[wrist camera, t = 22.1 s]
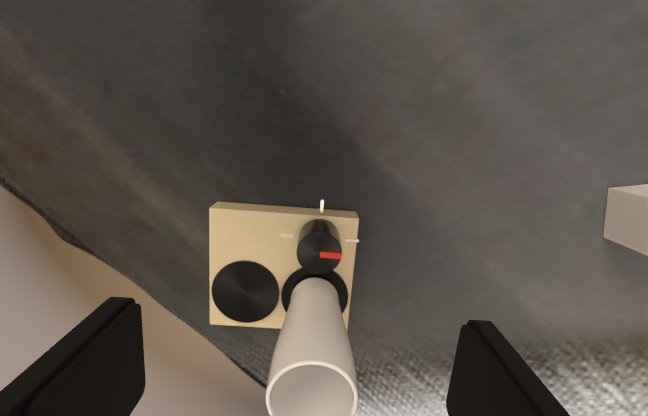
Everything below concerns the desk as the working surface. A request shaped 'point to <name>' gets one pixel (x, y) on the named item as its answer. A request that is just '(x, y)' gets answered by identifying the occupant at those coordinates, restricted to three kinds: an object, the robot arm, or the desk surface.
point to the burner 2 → (303, 274)
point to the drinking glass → (312, 357)
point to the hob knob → (319, 247)
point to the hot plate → (272, 246)
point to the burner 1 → (245, 291)
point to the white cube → (628, 217)
